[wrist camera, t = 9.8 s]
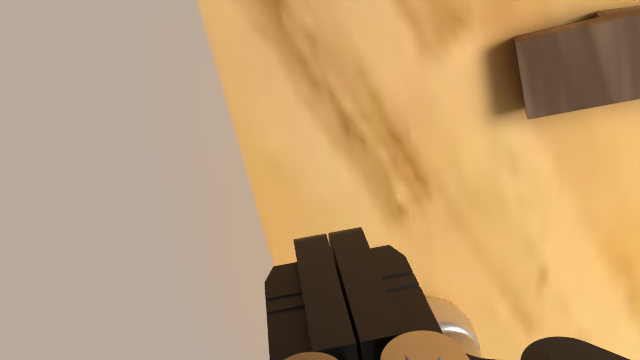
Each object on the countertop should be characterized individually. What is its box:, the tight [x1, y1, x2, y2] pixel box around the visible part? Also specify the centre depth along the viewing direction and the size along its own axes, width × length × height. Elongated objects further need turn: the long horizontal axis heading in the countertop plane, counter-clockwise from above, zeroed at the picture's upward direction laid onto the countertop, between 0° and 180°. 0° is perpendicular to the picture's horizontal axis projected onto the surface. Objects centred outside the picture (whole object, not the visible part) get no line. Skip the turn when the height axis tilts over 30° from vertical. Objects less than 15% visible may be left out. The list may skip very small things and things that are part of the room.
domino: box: [514, 8, 640, 119], centre depth 34 cm, size 2×5×9 cm
